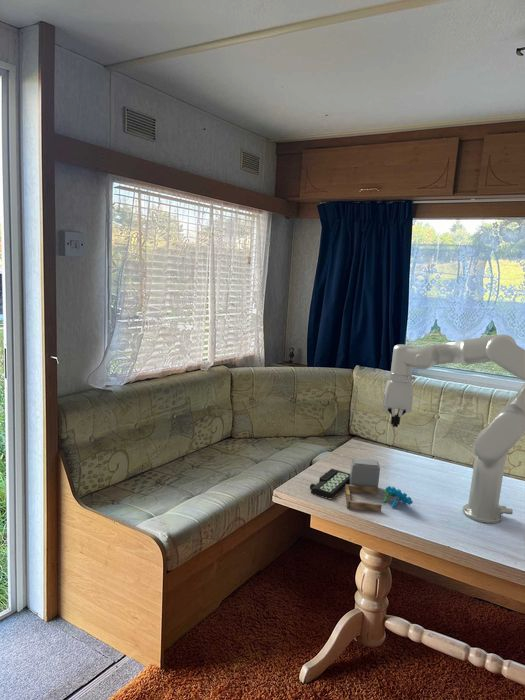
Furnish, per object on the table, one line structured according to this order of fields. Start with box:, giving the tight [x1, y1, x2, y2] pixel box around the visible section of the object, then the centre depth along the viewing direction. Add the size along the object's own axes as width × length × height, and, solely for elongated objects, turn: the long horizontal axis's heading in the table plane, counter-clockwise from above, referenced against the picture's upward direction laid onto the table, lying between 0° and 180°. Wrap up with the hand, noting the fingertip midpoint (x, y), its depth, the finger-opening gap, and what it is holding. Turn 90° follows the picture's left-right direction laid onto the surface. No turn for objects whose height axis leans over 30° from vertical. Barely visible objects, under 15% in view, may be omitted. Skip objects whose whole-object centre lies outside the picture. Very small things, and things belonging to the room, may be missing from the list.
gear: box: [382, 485, 413, 509], centre depth 183 cm, size 11×6×10 cm
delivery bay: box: [344, 484, 382, 513], centre depth 185 cm, size 12×14×3 cm
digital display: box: [309, 468, 350, 499], centre depth 196 cm, size 21×3×10 cm
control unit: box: [348, 457, 381, 493], centre depth 195 cm, size 10×7×11 cm
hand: (394, 425), depth 193 cm, fingers closed
